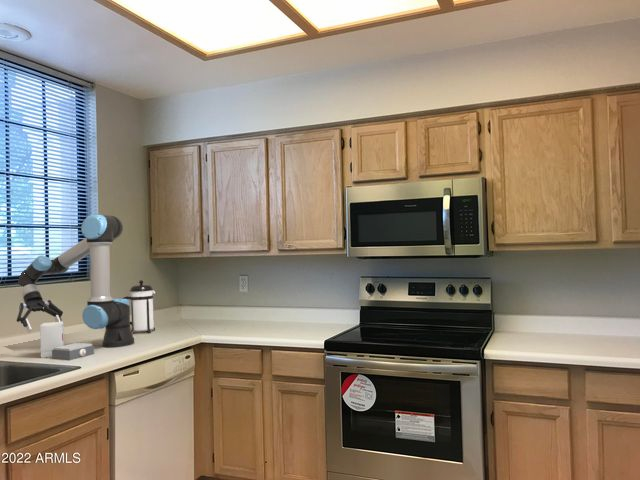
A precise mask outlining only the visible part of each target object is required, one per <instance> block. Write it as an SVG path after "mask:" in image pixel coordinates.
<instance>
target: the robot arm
mask: <svg viewBox="0 0 640 480" xmlns="http://www.w3.org/2000/svg"><path fill="white" fill-rule="evenodd" d="M80 227H81V228H80V230H81V233H82V235H83V237H85V238H84V239H82V240H80V241H79V242H78V243H76V244H75V245H73V246H72V247H70V248H68V249H67V250H65V251H64V252H63V253H60V254H59V255H58V256H57V257H55V258H53V259H50V258H49V257H48V256H45V255H39V256H37V257H36V258H34V259H33V261H31V263H30V264H29V265H28V267H26V268H25V269H26V270H24V271H23V272H22V273H21V275H20V277H19V280H18V283H19V285H21V286H23V291H22V295H21V297H22V299H23V301H24V303H23V302H20V304H19V306H18V308H19V310H18V314H17V318H16V321H15V322H17V323H19V322H20V324H22V325H23V326H22V327H24V328H26V331H27V332H28V333H27V334H31V332H32V330H33V328H32V325H31V324H30V321H29V319H28V317H29V315H30V314H31V313H32V312H33V313H35V312H43V313H46V314H49V316H53V317H54V322H63V321H62V316H63V314H64V312H63V310H61V309H60V308H58V307H57V305H55V304H54V303H52V301H51V299H50V300H49V299H48V300H47V301H44V299H43V296H42V295H41V292H40V290H39V288H38V286H37V284H36V283H37V281H39V279H40V278H41V277H42V276H46V275H60V274H65V273H66V272H68V270H69V269H70V267H71V266H73V265H75V264H77V262H79V261H81V260H83V259H85V257H87V256H89V258H90V261H89V263H90V268H89V269H90V270H89V272H90V297H89V298H88V299H87V302H86V304H87V306H86V307H85V308H84V309H83V311H82V321H83V323H84V325H86V326H87V327H88V328H89V329H92V330H100V329H105V330H104V334H103V339H102V341H101V346H102V347H104V348H116V347H117V348H119V347H127V346H129V345H133V344H135V337H134V334H132V333H133V331H132V332H131V330H132V328H131V325H130V322H131V304H130V301H129V300H130V299H122V298H113V297H112V296H111V267H110V266H111V264H110V263H111V260H110V259H111V258H110V256H111V255H110V254H111V253H110V250H111V249H110V246H111V245H112V244H113V243H114V241H115V240H117V239H118V238H119V237H120V236H121V235H122V233H123V230H124V227H123V222H122V221H121V219H120V218H118V217H117V216H115V215H105V214H90V215H89V216H88V215H87V217H86V218H85V219H84V220H83V221H82V223H81V225H80ZM24 273H25V274H24ZM25 308H26V309H27V311H26V312H25V313H24V314H23V310H24V309H25ZM22 315H23V316H22Z"/></svg>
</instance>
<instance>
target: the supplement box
mask: <svg viewBox="0 0 640 480" xmlns="http://www.w3.org/2000/svg"><path fill="white" fill-rule="evenodd" d="M64 325H65V324H64V321H61V322H56V321H53V322H51V321H50V322H43V323H42V324H39V332H40V333H39V335H40V336H39V337H40V339H39V341H40V343H39V344H40V358H41V359H43V358H44V359H45V358H46V357H47V358H52V350H54V348H56V347H60V346H65V328H64Z"/></svg>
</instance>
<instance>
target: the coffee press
mask: <svg viewBox="0 0 640 480" xmlns="http://www.w3.org/2000/svg"><path fill="white" fill-rule="evenodd" d="M138 283H139V284H136V285H132V286H131V287H130V289H129V293H130V296H128V295H127V296H125V297H122V298H121V299H128V300H130V326H131V332H132V335H135V334H136V332H137V333H138V332H146V333H147V334H148V335H150V334H152V331H153V332H154V331H155V330H156V328H155V326H154V325H155V321H154V294H156V291H155V290H154V288H153V287H152V285H150V284H143V283H144V281H143V280H142V279H141V280H139V282H138Z"/></svg>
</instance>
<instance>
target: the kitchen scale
mask: <svg viewBox="0 0 640 480" xmlns="http://www.w3.org/2000/svg"><path fill="white" fill-rule="evenodd" d="M94 348H95V346H94V345H93V343H87V342H86V343H83V342H74V343H70V344H64V346H60V347H56V348H54V350H52V357H51V359H52V360H60V361H61V360H62V361H64V360H65V361H72V360H75V359H80V358H85V357H88V356H92V355H94V354H95V349H94Z"/></svg>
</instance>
